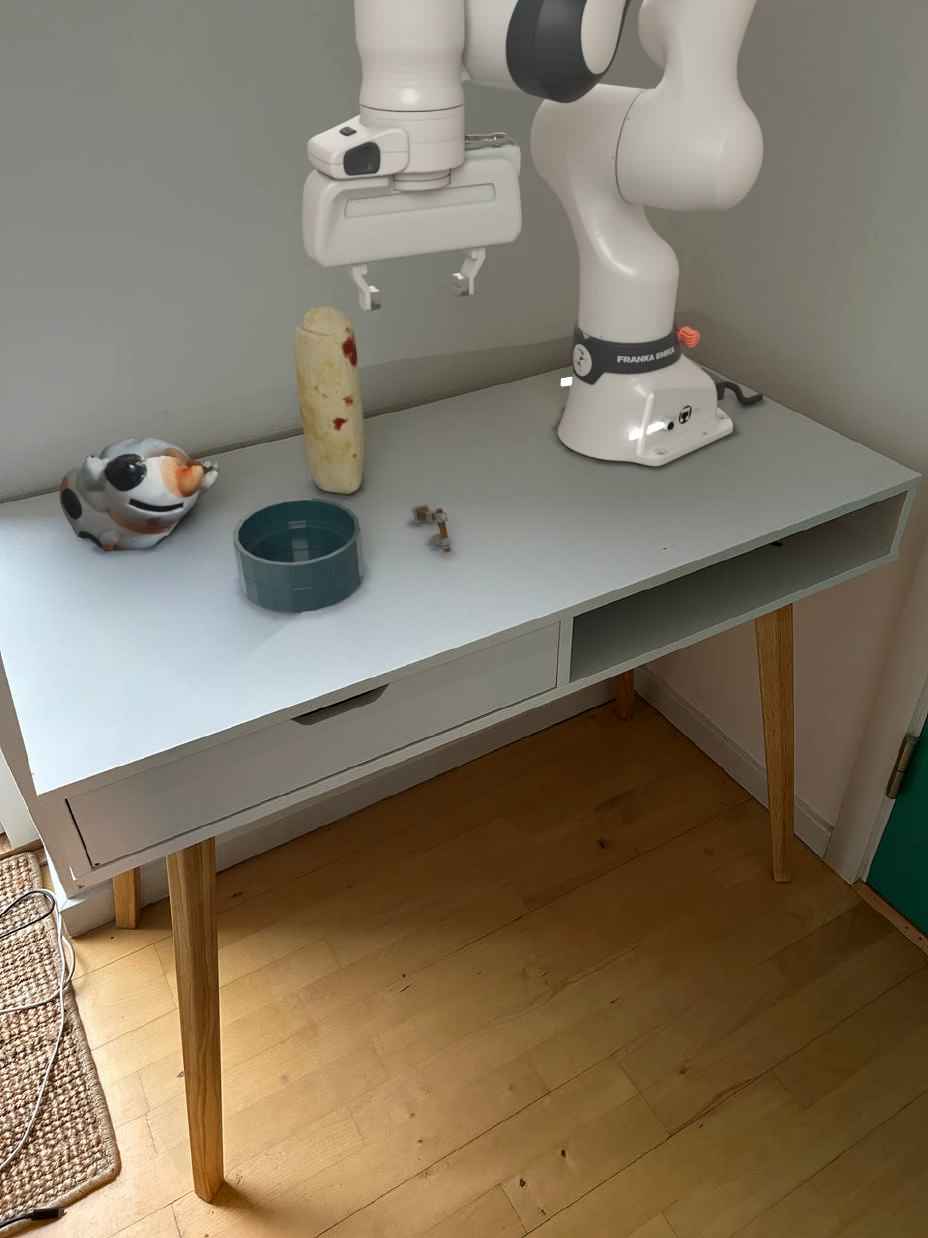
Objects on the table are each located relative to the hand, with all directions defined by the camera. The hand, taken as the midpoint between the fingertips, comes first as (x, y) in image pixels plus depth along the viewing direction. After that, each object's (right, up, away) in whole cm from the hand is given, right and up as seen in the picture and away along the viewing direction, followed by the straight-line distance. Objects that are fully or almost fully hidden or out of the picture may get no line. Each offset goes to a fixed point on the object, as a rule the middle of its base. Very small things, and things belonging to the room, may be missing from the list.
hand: (417, 301), depth 92 cm
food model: (-10, -14, +23) cm, 29 cm away
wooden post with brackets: (+1, -21, +14) cm, 25 cm away
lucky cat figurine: (-30, -20, +16) cm, 39 cm away
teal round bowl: (-12, -26, +7) cm, 29 cm away
